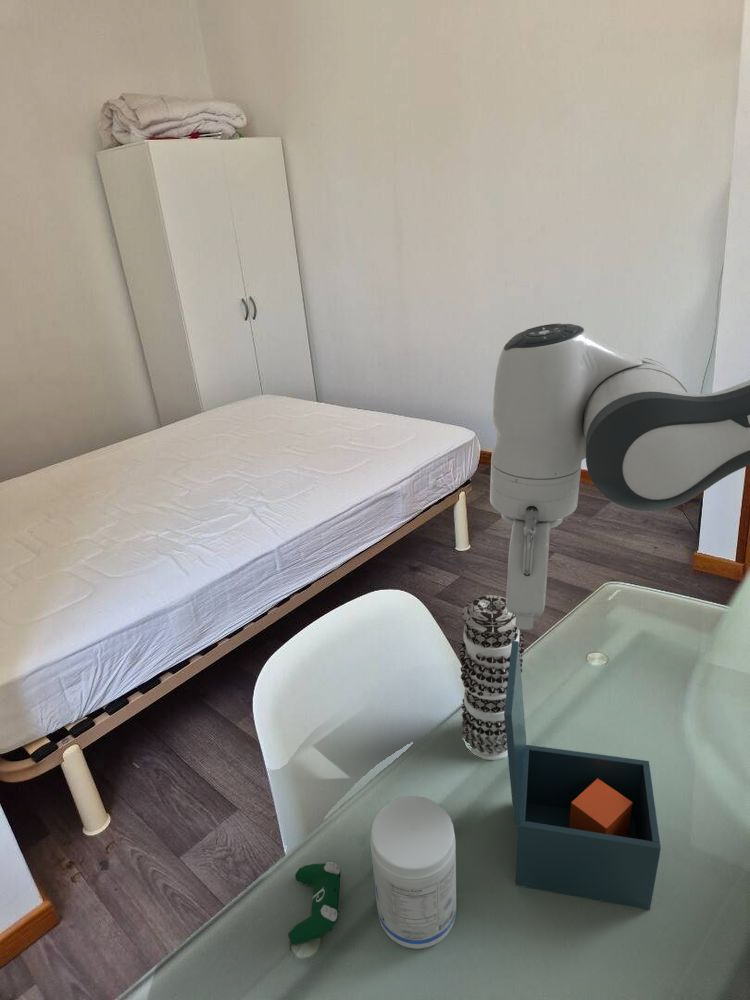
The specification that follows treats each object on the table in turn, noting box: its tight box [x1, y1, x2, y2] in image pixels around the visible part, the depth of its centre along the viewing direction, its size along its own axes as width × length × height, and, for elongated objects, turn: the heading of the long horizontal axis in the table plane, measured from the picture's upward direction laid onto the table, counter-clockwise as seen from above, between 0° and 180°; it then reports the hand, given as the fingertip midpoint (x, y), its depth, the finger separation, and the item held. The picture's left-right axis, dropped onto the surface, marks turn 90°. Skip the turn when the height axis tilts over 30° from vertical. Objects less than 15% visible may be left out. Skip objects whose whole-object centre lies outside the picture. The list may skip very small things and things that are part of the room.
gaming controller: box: [287, 861, 342, 945], centre depth 83 cm, size 9×4×6 cm
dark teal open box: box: [514, 744, 662, 911], centre depth 86 cm, size 16×13×11 cm
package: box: [569, 778, 633, 837], centre depth 86 cm, size 5×6×8 cm
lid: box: [504, 641, 527, 824], centre depth 82 cm, size 16×13×1 cm
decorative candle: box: [458, 594, 525, 761], centre depth 100 cm, size 9×9×25 cm
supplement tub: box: [369, 795, 457, 950], centre depth 79 cm, size 10×10×15 cm
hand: (526, 600), depth 76 cm, fingers open, 8 cm apart
